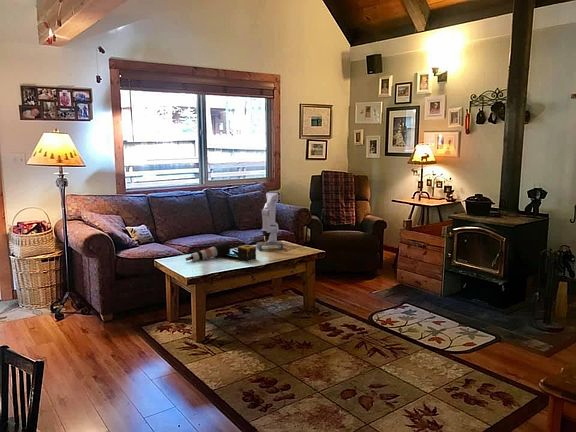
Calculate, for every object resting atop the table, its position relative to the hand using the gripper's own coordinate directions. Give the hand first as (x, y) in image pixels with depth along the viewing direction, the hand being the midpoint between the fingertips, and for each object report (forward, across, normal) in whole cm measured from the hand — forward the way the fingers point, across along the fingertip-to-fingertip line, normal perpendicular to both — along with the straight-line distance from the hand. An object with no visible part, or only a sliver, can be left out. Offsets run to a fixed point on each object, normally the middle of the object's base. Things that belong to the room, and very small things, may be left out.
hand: (266, 240), depth 388 cm
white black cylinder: (+8, +20, -50) cm, 54 cm away
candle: (+8, +30, -22) cm, 38 cm away
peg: (+4, 0, 0) cm, 4 cm away
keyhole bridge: (+8, 0, +3) cm, 8 cm away
